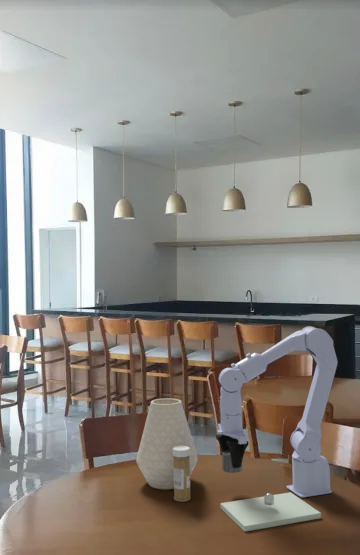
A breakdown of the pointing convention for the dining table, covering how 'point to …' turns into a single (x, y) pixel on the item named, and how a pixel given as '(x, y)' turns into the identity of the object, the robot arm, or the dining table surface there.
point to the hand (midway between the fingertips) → (232, 464)
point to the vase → (164, 442)
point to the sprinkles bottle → (181, 473)
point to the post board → (269, 511)
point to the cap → (228, 463)
